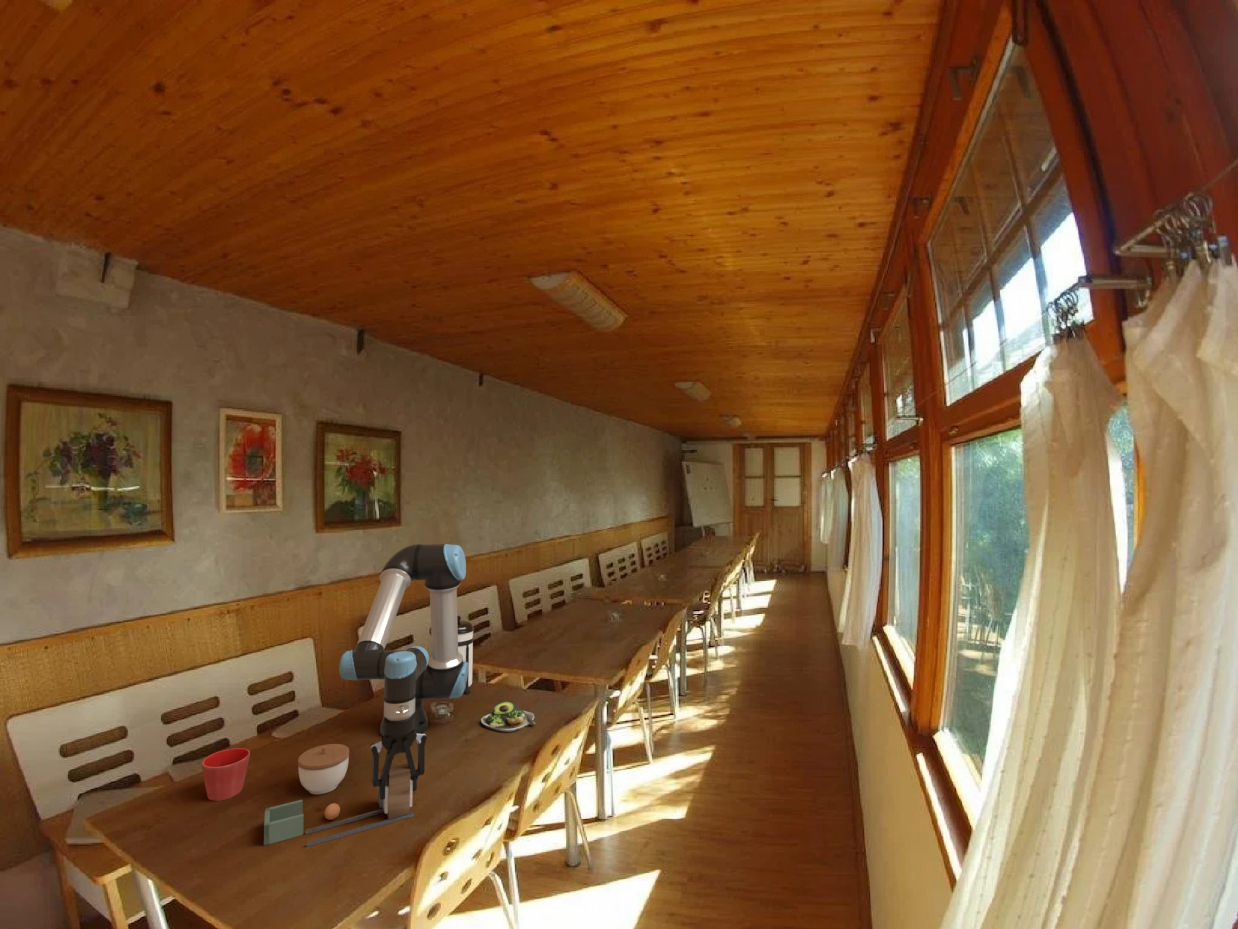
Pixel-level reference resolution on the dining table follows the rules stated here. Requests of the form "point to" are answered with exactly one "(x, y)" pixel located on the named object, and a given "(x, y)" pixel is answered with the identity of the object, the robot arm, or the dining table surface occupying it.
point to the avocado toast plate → (507, 718)
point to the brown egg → (332, 811)
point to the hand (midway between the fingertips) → (397, 807)
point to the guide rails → (355, 828)
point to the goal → (283, 822)
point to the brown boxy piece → (398, 791)
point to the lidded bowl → (323, 767)
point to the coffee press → (466, 647)
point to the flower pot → (225, 773)
